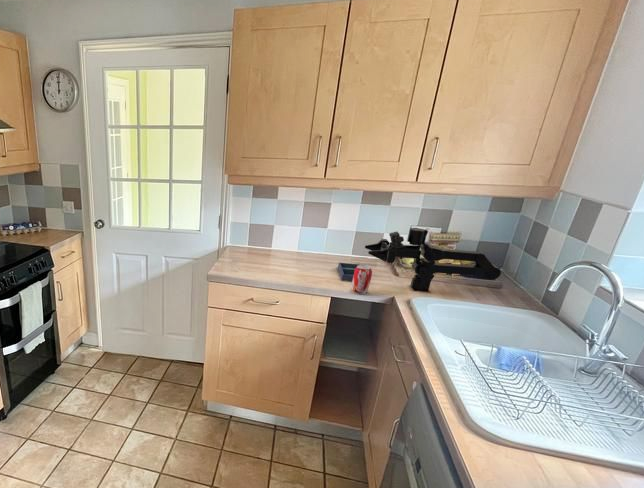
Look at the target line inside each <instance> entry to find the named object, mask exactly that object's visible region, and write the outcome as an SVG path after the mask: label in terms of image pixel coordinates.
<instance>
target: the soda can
mask: <svg viewBox="0 0 644 488" xmlns="http://www.w3.org/2000/svg"><path fill="white" fill-rule="evenodd" d="M372 276H373V269H372V266H370V265H367V264H360V265H357V268H356V269H355V271H354V275H353V280H352V282H351V286H350V290H351V291H352V293H354V294H357V295H365V294H367V293H368V291H369V289H370V284H371V280H372Z"/></svg>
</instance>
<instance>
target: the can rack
mask: <svg viewBox="0 0 644 488" xmlns="http://www.w3.org/2000/svg"><path fill="white" fill-rule="evenodd" d="M357 265H361V264H360V263H349V262H338V266H337V269H338V270H337V271H338V274H339V277H340V280H341V281H343V282H351V283H352V280H353V275H354V271H355V269H356V268H357Z"/></svg>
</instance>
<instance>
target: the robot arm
mask: <svg viewBox="0 0 644 488" xmlns="http://www.w3.org/2000/svg"><path fill="white" fill-rule="evenodd" d="M428 233H429V230H428V229H424V228H419V227H409V231H408V234H407V235H408V236H407V239H406V242H408V243H409V244H404V243H403V242H404V241H405V238H404V236H401V234H400V233H399V232H398V231H392V232H389V233H388V235H389V237H390V238H389V239H390V241H389V240H388V239H387V238H381V239H380V240H379V241H378V242H377V243H376V242H375V243H371V244H367V245H365V246H364V249H367V250H368V252H367V253H368V255H370V256H373V257H375V258H376V259H379V260H380V261H383V262H385V263H387V264H393V263H395V261H396V258H398V259H399V260H403V259H413V261H412V263H411V268H412V269H413V270H414V276H413V277H412V278H411V282H410V284H409V286H410V288H411V289H412V291H414V292H425V293H430V286H431V284H432V283H431V282H432V280H433V279H434V278H435V275H434V274H446V275H447V274H448V275H462V276H473V277H477V278H480V279H483V280H488V281H495V280H496V279H498V278H499V277H500V276H501V273H502V272H501V269H500V268H499V267H497V266H496V265H495V264H493V263H492V262H491V261H490V260H489V259H488V257H487V256H486V254H484V253H483V252H482V251H480V250H475V251H474V250H463V249H461V250H460V249H450V248H443V247H441V246H436V245H434V244H433V245H432V244H428V243H427V242H426V240H427V235H428ZM421 256H422V257H421ZM442 260H451V261H452V260H453V261H463V262H464V261H465V262H474V263H475V264H459V263H447V262H437V261H442Z"/></svg>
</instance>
